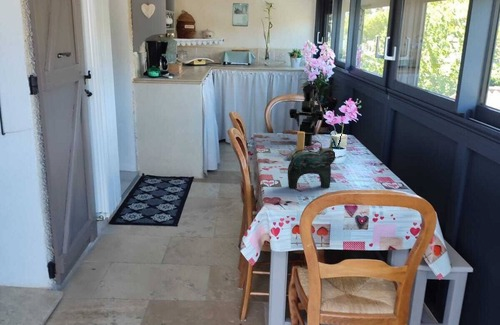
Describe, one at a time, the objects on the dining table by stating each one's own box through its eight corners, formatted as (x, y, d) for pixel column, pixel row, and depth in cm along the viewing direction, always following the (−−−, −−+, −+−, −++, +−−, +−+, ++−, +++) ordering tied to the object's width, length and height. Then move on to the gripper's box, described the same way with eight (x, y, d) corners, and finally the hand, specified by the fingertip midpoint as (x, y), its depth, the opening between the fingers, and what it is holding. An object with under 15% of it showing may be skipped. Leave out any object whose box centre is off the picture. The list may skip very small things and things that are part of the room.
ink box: (338, 154, 246) (340, 133, 243) (346, 156, 242) (348, 134, 239) (328, 156, 241) (330, 134, 237) (335, 158, 237) (337, 136, 234)
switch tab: (296, 152, 240) (298, 131, 237) (303, 152, 240) (304, 131, 236) (296, 153, 238) (297, 132, 235) (302, 153, 237) (304, 132, 234)
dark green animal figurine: (330, 184, 195) (333, 139, 190) (335, 189, 189) (339, 143, 184) (285, 185, 192) (288, 139, 187) (289, 190, 186) (292, 143, 181)
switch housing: (291, 152, 245) (292, 146, 244) (310, 154, 243) (310, 148, 242) (286, 160, 230) (287, 154, 229) (306, 162, 228) (306, 156, 227)
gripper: (290, 94, 249) (286, 117, 242) (324, 96, 244) (321, 120, 237) (292, 106, 258) (288, 128, 251) (325, 108, 254) (321, 131, 247)
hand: (304, 127), depth 246 cm, fingers open, 6 cm apart
